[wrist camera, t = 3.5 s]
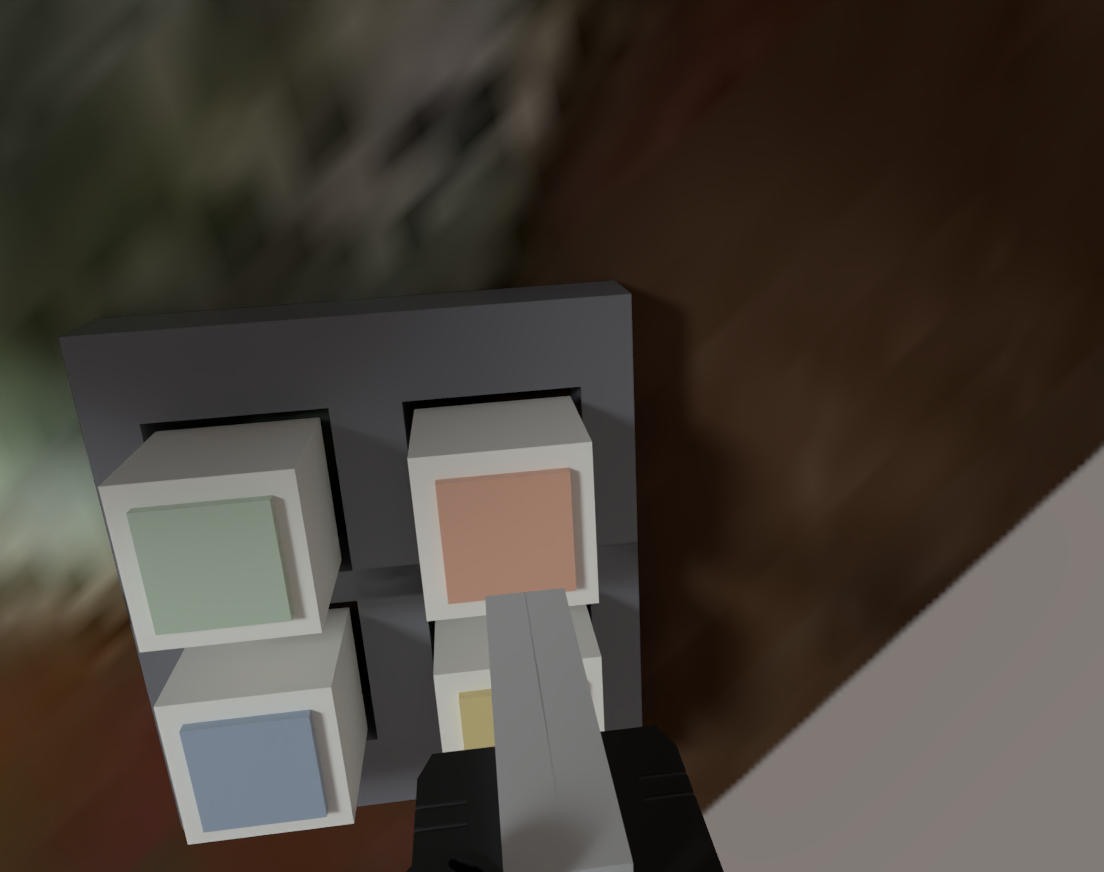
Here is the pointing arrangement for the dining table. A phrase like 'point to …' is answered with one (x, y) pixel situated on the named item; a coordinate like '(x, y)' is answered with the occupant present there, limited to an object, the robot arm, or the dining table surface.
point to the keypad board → (386, 453)
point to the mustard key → (469, 681)
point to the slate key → (265, 733)
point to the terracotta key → (502, 503)
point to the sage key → (225, 533)
